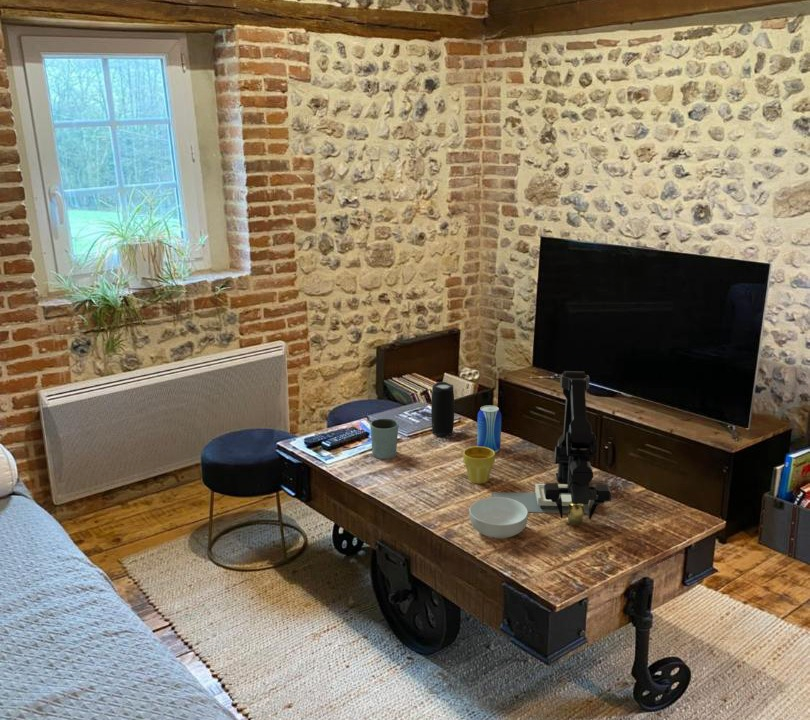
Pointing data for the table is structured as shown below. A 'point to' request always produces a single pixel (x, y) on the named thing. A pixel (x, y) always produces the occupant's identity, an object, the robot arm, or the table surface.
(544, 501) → the shallow square tray
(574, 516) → the solid brass cylinder
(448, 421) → the portable speaker
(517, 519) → the cereal bowl
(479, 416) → the beer can
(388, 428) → the green cup
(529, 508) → the mat
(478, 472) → the plant pot
